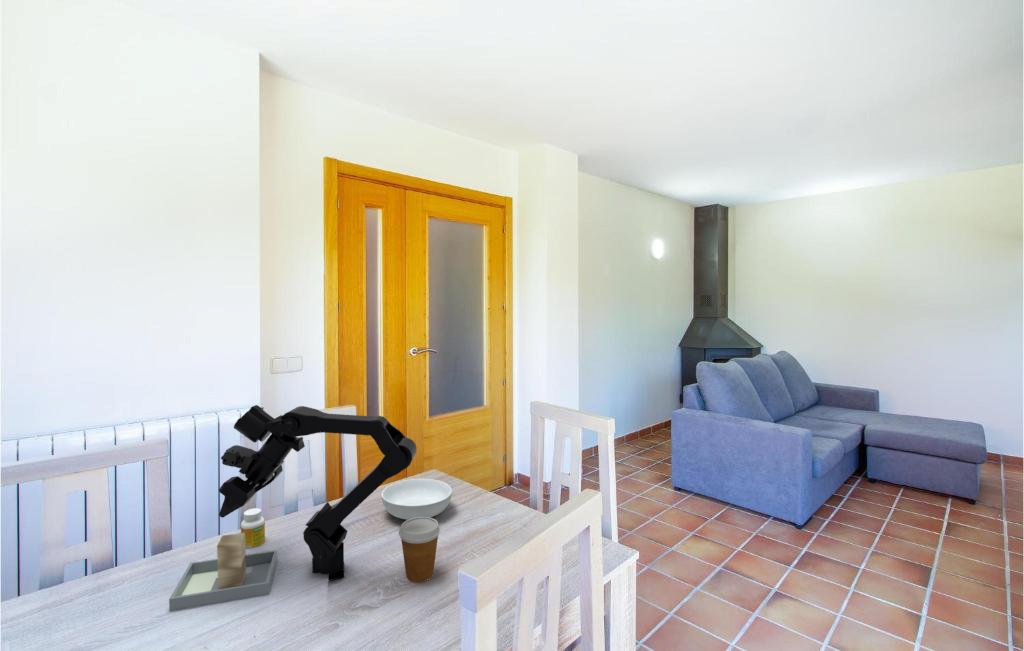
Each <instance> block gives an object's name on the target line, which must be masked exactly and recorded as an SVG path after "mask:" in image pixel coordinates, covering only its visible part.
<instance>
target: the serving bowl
mask: <svg viewBox="0 0 1024 651" xmlns="http://www.w3.org/2000/svg"><path fill="white" fill-rule="evenodd" d="M380 494H381V502H382V505H383V507H384V508H385V510H386V511H387V512H388V513H389V514H390V515H392V516H394V517H395V518H398V519H401V520H405V521H406V520H408V519H411V518H415V517H430V518H433V517H435V516H438V515H439V514H441V513H443V511H445V510H446V509H447V507H448V506H449V504H450V502H451V499H452V496H453V489H452V486H450V485H449V484H447V483H446V482H444V481H442V480H438V479H433V478H411V479H410V478H409V479H404V480H400V481H396V482H394V483H391V484H389V485H387V486H386V487H385V488H383V490H382V491H381V493H380Z"/></svg>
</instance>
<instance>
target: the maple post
mask: <svg viewBox="0 0 1024 651" xmlns="http://www.w3.org/2000/svg"><path fill="white" fill-rule="evenodd" d="M216 549H217V550H216V551H217V553H216V554H217V558H216V559H217V560H218V576H217V578H218V590H219V589H225V588H231V587H237V586H242V585H243V582H244V579H245V576H246V573H247V572H246V571H247V568H246V567H247V566H246V561H245V555H246V548H245V533H241V532H240V533H232V534H225V535H221V537H220V538H219V541H218V543H217V545H216Z"/></svg>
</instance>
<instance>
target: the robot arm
mask: <svg viewBox="0 0 1024 651" xmlns="http://www.w3.org/2000/svg"><path fill="white" fill-rule="evenodd" d="M233 429H234V430H235V431H237V432H238V433H240V434H241V435H243V436H244V437H246V438H247V439H248V440H250V441H251V442H253V443H257V442H258V441H259V442H261V443H262V442H263V441H265V440H266V439H267V440H266V441H265V442H264V443H263V444H262V446H261V447H260V448H259V449H258V450H255V449H252V448H249V447H245V446H241V445H237V444H236V445H233V446H231V447H228V448H227V449H226V450H225V451H224V452H223V455H222V456H221V457H220V459H221V461H222V462H221V463H222V465H223V466H227V467H231V468H237V469H239V470H238V472H239V473H240V474H242V475H244V476H245V478H246V480H244V479H243V478H241V477H240V476H238V475H237V476H231V477H230V478H228V479H227V480H226V481H224V482H223V483H222V484H221V486H220V487H219V488H218V492H219V493H220V494H221V495H223V496H224V499H223V502H222V505H221V508H220V510H219V513H218V516H219V517H220V518H225V517H226V516H228V515H230V514H231V513H233V512H235V511H237V510H239V509H241V508H242V507H244V506H245V505H246V504H247V503H249V502H250V501H251V499H252V498H253V497H254V496H255V495H256V493H257V492H260V490H262V489H263V488H265V487H267V486H268V485H270V484H271V483H272V482H273V481H275V480H276V479H277V478H278V477H279V476H280V475H281V473H282V472H283V464H284V462H285V459H286V457H288V455H289V454H290V453H291V451H292V449H293V450H294V451H295V452H298V453H299V452H300V451H301V450H303V449H304V448H305V446H306V445H305V443H304V437H305V436H310V435H315V434H322V433H325V434H339V435H341V434H343V435H357V436H370V437H371V438H372V439H373V440H374V442H375V444H376V446H377V447H378V449H379V451H380V452H381V454H383V455H384V456H383V458H382V459H381V461H380V462H379V463H378V464H377V465H376V466H375V467H374V468H373V469H372V470H371V471H370V472H369V473H367V475H366V476H364V477H363V479H361V480H360V481H359V482H358V483H357V484H356V485H355V486H354V487H353V488H352V489H350V490H349V492H347V493H346V494H345V495H344V496H343V497H342V498H341V499H339V501H338V502H337V503H334V504H333V505H331V504H330V503H329V502H328V501H327V502H326V503H325V504H324V506H323V507H322V508H321V509H320V510H318V511H316V512H314V514H313V515H312V517H310V519H309V520H308V521H307V522H306V524H305V526H306V527H305V529H304V531H303V532H302V534H303V536H302V537H303V540H304V542H305V544H306V545H307V546H308V548H309V550H310V553H311V555H312V559H311V570H312V571H311V573H312V574H321V575H328V577H327V580H328V581H333V580H339V579H343V578H345V554H344V553H345V550H344V549H345V546H344V545H345V544H344V540H345V539H346V537H347V535H348V530H347V529H346V528H345V527H344V526H343V525H342V522H343V521H344V520H345V519H346V518H347V517H348V516H349V515H351V513H352V512H354V510H356V509H357V507H359V506H360V505H361V504H362V503H363V502H364V501H365V500H366V499H367V498H369V496H371V494H373V493H374V492H375V491H376V490H377V489H378V488H379V487H380V486H381V485H383V483H384V482H386V481H387V480H388V479H391V478H392V477H394V476H397V475H398V474H400V473H401V472H403V471H405V470H406V469H407V468H409V466H410V465H411V463H412V461H413V460H414V458H415V456H416V454H417V453H418V452H417V448H418V447H417V444H416V443H415V441H414V440H412V439H411V438H408V437H407V436H406V435H405V434H404V433H403V432H402V431H401V430H400V429H398V428H397V427H396V426H395V425H393V424H391V423H390V422H389V420H388V419H387V418H386V417H385V416H383V415H377V416H371V415H370V416H369V415H358V414H357V415H355V414H340V413H339V414H338V413H326V412H323V411H321V410H320V409H317V408H313V407H308V406H303V405H301V406H297V407H294V408H293V409H291V410H289V411H288V412H287V411H286V412H285V413H284V414H283V415H282V414H280V415H279V416H277V417H275V418H274V417H273V416H271V415H270V414H269V413H268V412H266V411H264V409H263V408H262V407H261V406H259V405H258V404H255V405H253V406H251V407H250V408H249V410H247V412H245V413H244V414H243V415H242V416H241V417H239V418H238V419H237V421H236V422H235V423H234V425H233Z"/></svg>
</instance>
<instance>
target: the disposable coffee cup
mask: <svg viewBox="0 0 1024 651" xmlns="http://www.w3.org/2000/svg"><path fill="white" fill-rule="evenodd" d="M440 533H441V527H440V525H439V522H438V520H437V519H435V518H433V517H415V518H411V519H408V520H406V519H405V521H403V522H402V524H401V526H400V528H399V530H398V535H399V537H400V539H401V540H400V541H401V546H402V555H403V562H404V571H405V578H406V579H407V580H408V581H410V582H413V583H422V581H423V582H425V580H426V581H428V580H427V579H429V578H430V579H431V578H433V576H434V570H435V565H436V564H435V563H436V554H437V553H436V552H437V547H438V538H439V534H440ZM432 575H433V576H432ZM430 579H429V580H430Z"/></svg>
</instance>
